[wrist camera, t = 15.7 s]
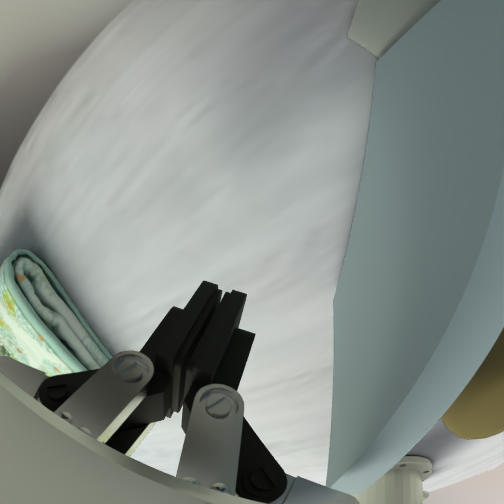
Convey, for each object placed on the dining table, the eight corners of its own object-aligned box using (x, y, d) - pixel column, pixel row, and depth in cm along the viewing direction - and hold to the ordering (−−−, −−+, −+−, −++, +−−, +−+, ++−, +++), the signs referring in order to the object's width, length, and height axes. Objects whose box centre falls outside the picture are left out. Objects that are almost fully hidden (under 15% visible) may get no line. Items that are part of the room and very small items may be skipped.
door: (375, 62, 11) (495, -48, 1) (429, 77, 10) (602, 40, 1) (333, 301, 17) (324, 492, 7) (378, 308, 16) (403, 492, 6)
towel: (82, 403, 34) (65, 426, 30) (-7, 285, 28) (-31, 304, 24) (162, 404, 28) (143, 440, 23) (38, 233, 22) (-3, 257, 17)
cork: (490, 235, 13) (597, 355, 4) (443, 314, 16) (495, 458, 7) (415, 192, 14) (535, 316, 4) (369, 285, 17) (395, 457, 7)
